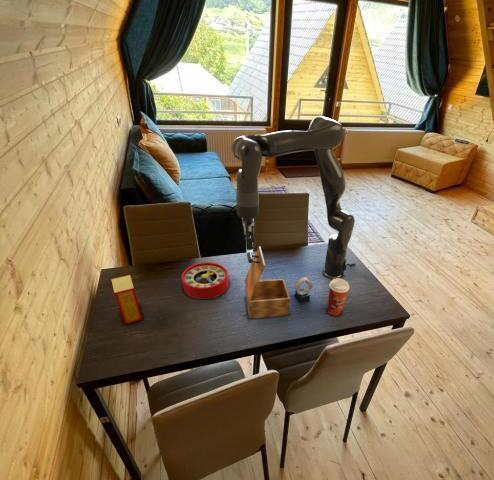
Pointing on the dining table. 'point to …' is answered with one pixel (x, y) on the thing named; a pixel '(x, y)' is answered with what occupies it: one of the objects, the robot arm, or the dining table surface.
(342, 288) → the coffee cup
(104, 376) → the dining table surface
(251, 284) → the lid
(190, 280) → the toy clock
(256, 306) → the chest
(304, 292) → the watch
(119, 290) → the baking soda box
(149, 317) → the dining table surface
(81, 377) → the dining table surface
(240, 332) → the dining table surface
